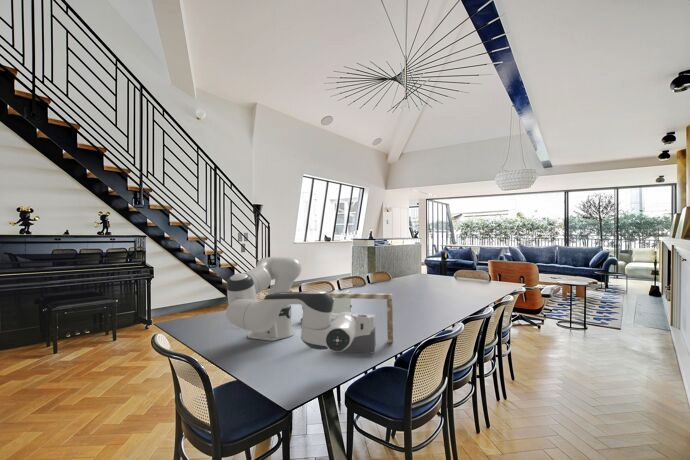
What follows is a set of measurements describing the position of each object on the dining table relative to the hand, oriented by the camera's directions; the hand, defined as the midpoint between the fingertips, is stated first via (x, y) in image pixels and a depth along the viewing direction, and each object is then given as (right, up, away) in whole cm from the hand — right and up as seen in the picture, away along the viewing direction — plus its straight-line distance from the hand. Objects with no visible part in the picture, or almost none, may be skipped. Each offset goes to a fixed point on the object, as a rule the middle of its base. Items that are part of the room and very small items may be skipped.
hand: (351, 314), depth 123 cm
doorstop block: (+3, -18, +13) cm, 22 cm away
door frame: (+4, -18, +22) cm, 29 cm away
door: (-5, -18, +36) cm, 41 cm away
